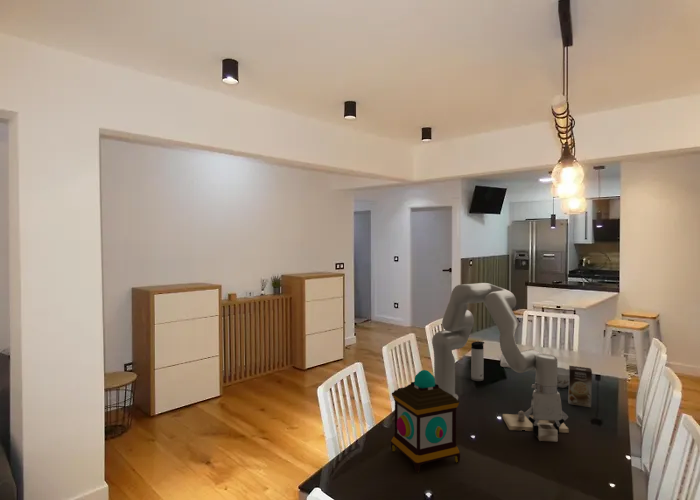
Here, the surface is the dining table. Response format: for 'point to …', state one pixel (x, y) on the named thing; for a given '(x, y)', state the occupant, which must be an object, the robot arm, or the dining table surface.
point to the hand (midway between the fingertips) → (545, 434)
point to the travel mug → (477, 361)
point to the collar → (547, 432)
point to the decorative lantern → (425, 421)
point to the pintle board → (526, 422)
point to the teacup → (562, 377)
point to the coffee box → (580, 386)
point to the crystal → (504, 362)
